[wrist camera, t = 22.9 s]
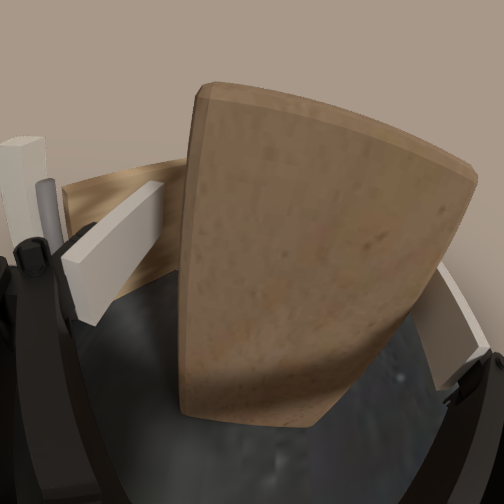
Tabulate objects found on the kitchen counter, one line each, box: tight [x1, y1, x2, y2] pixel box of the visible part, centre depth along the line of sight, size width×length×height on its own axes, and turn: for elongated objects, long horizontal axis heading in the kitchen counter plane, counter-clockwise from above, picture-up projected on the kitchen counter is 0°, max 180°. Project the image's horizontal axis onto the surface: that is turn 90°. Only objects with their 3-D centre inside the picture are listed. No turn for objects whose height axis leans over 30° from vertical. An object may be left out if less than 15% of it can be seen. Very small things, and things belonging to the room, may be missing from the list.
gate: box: [62, 158, 187, 301], centre depth 26 cm, size 16×3×12 cm, turn 140°
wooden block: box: [177, 82, 478, 427], centre depth 16 cm, size 10×10×20 cm
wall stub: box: [0, 136, 78, 320], centre depth 18 cm, size 6×2×16 cm, turn 81°
